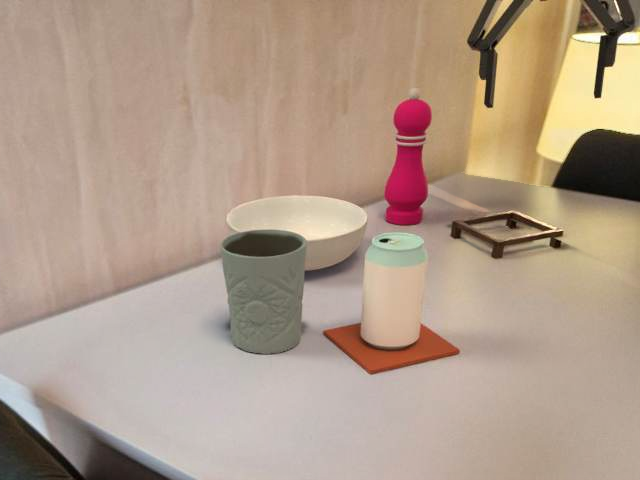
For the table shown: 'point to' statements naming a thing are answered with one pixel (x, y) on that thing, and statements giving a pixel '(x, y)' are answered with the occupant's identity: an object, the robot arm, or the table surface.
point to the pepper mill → (408, 162)
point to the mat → (387, 359)
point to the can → (393, 290)
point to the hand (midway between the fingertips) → (541, 101)
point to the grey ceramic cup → (265, 288)
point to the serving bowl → (306, 224)
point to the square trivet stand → (500, 243)
